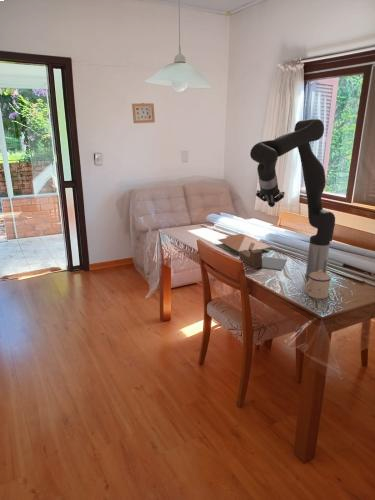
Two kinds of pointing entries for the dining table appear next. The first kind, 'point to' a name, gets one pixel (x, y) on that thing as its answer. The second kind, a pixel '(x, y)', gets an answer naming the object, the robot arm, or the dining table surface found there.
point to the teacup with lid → (318, 284)
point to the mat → (273, 263)
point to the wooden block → (252, 258)
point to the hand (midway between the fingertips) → (271, 205)
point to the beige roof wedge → (243, 243)
